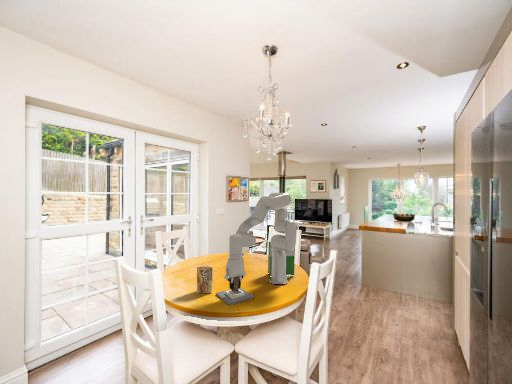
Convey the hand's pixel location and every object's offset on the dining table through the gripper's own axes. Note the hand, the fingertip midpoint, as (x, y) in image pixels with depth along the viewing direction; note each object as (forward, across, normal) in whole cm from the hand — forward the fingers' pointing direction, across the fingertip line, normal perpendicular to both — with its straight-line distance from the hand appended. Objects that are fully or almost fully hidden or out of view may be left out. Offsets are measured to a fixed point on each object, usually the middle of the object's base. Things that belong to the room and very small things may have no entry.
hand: (235, 288), depth 136 cm
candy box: (+5, +12, -15) cm, 20 cm away
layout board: (+5, 0, 0) cm, 5 cm away
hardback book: (+5, -46, -13) cm, 48 cm away
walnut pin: (+1, 0, 0) cm, 1 cm away
